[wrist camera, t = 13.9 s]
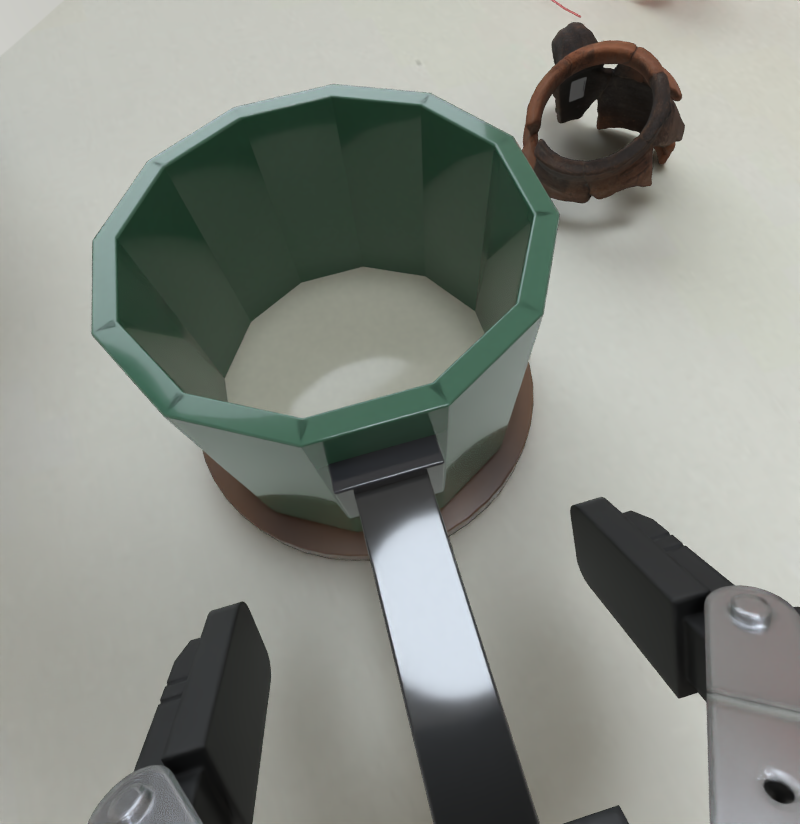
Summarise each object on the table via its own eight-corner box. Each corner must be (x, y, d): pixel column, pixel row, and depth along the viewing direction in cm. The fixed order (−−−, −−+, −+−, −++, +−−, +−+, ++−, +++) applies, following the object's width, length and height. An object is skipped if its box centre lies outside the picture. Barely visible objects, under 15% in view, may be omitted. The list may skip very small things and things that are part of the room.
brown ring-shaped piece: (702, 193, 31) (728, 119, 24) (559, 267, 35) (542, 223, 27) (621, 46, 33) (621, -65, 26) (494, 129, 37) (462, 52, 29)
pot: (205, 306, 27) (92, 138, 18) (455, 242, 28) (464, 51, 19) (272, 862, 17) (79, 1111, 8) (672, 730, 18) (921, 815, 9)
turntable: (244, 619, 21) (234, 617, 20) (183, 325, 29) (173, 312, 28) (592, 481, 23) (600, 473, 22) (451, 236, 30) (451, 221, 29)
